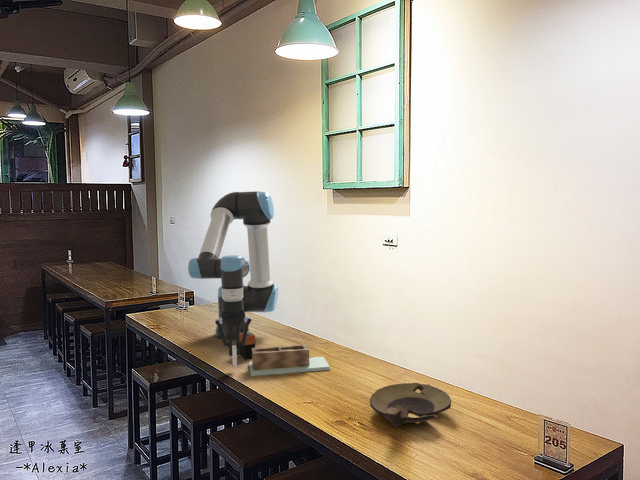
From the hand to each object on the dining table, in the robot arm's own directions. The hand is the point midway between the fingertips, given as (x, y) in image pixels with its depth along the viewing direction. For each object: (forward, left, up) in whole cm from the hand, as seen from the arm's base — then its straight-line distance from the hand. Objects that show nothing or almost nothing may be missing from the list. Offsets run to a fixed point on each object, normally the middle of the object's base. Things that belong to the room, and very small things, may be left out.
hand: (234, 364), depth 190 cm
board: (0, +19, -3) cm, 20 cm away
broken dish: (+50, +45, -3) cm, 68 cm away
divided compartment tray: (0, +16, -1) cm, 16 cm away
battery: (-17, +5, -3) cm, 18 cm away
